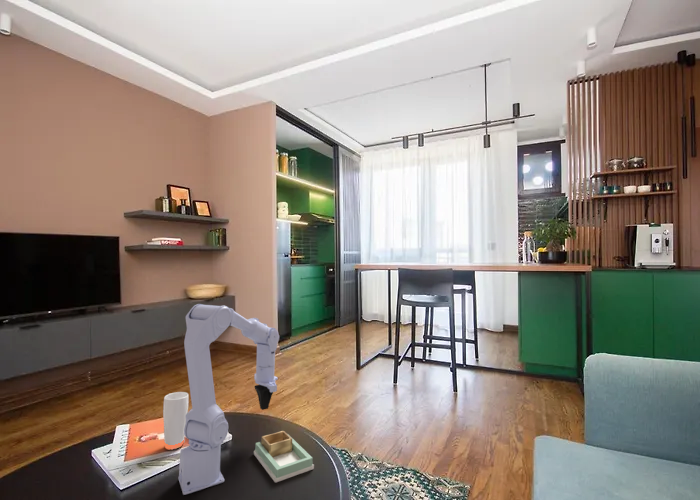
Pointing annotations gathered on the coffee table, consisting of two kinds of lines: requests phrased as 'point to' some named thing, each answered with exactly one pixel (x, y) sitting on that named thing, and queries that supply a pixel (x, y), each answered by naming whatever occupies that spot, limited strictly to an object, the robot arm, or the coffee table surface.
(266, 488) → the coffee table surface
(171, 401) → the drinking glass
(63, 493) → the coffee table surface
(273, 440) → the crate
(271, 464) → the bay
